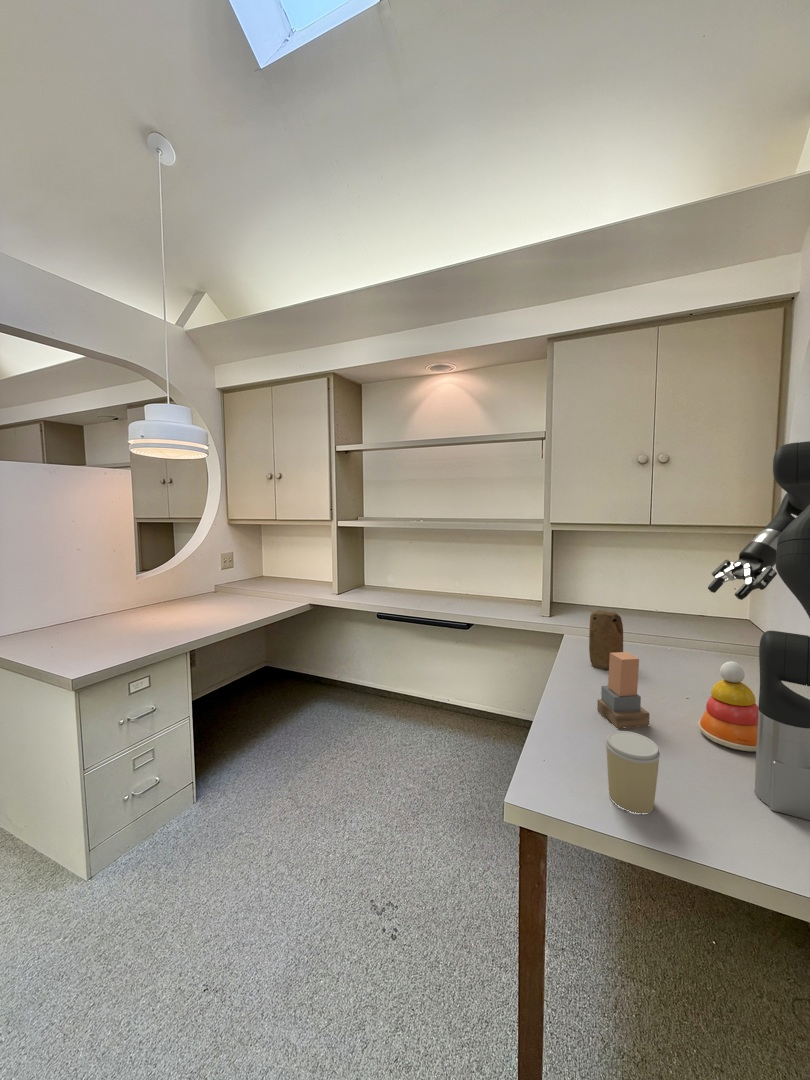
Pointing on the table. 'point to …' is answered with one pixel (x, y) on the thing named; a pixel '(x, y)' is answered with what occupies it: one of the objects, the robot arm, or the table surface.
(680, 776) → the table surface
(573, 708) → the table surface
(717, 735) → the stacking toy
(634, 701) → the tower top
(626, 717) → the tower base
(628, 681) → the pillar
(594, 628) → the block
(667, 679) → the table surface
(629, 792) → the coffee cup
